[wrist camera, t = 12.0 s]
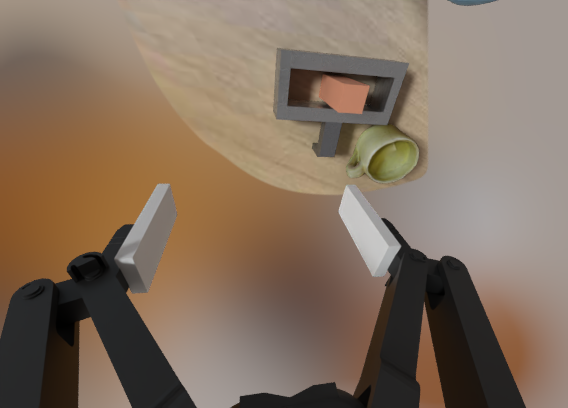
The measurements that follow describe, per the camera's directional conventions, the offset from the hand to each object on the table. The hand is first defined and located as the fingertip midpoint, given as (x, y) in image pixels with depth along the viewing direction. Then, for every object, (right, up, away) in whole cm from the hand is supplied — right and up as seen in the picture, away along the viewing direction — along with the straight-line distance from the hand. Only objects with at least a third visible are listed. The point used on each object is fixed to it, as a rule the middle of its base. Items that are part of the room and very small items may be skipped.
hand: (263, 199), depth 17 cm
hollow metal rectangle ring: (+9, +17, +23) cm, 30 cm away
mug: (+18, +11, +29) cm, 36 cm away
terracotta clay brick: (+10, +20, +21) cm, 30 cm away
